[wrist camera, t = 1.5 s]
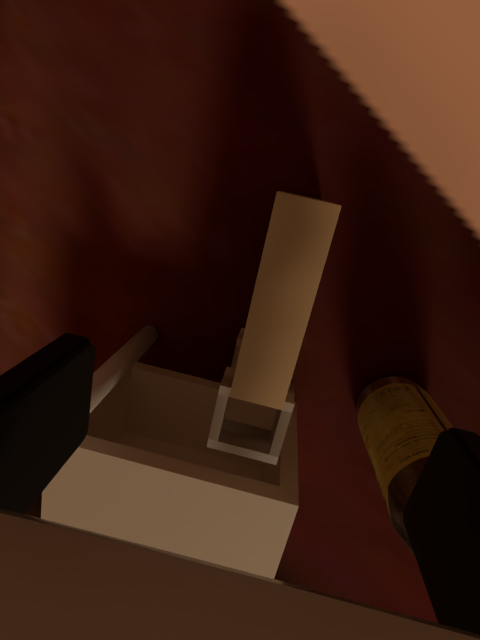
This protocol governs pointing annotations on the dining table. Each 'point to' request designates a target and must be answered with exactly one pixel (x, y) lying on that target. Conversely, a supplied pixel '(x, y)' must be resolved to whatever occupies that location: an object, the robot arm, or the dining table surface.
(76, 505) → the white box
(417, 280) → the dining table surface
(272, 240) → the door
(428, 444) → the sauce bottle
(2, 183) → the dining table surface
